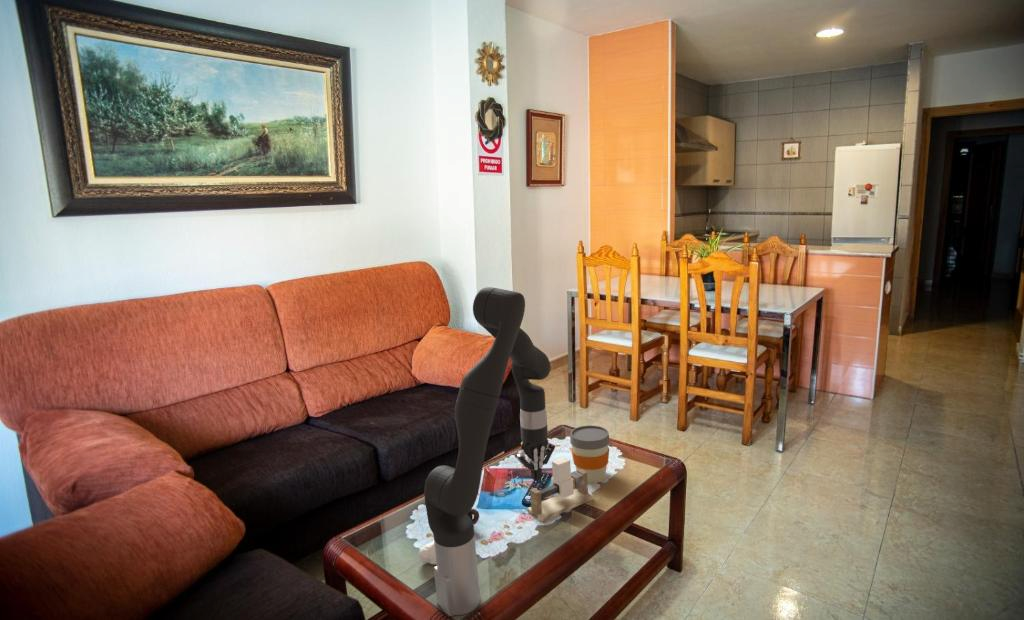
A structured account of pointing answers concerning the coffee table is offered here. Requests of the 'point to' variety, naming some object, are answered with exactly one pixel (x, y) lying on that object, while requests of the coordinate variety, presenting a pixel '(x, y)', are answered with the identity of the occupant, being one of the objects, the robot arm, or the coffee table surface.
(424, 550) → the duck figurine
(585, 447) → the reusable coffee cup
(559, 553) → the coffee table surface
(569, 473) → the cream upright block
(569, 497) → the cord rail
